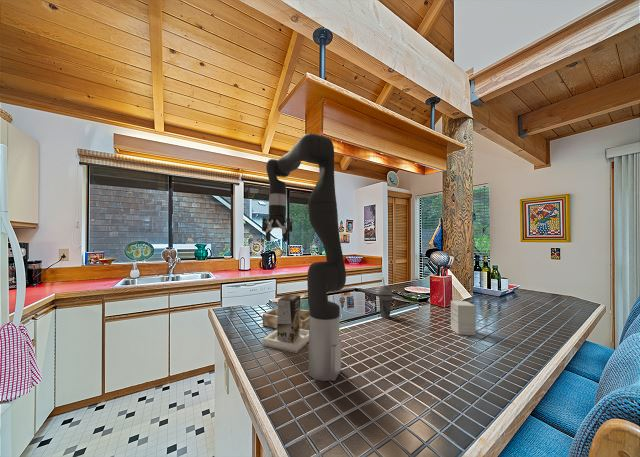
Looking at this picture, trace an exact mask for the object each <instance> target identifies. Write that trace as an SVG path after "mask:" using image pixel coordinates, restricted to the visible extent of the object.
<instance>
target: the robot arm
mask: <svg viewBox="0 0 640 457" xmlns="http://www.w3.org/2000/svg"><path fill="white" fill-rule="evenodd" d="M302 162H306V163H310V164H315V165H318V169H319V170H318V172H319V173H318V175H319V176H318V180H317V182H316V185H315V186H314V188H313V190H312V191H311V193H310V195H309V197H308V204H307V205H308V208H307V209H308V219H309V222H310V226H311V227H312V229H313V231H314V232H315V234H316V236H317V237H318V238H319V240H320V241H321V244H322V246H323V248H324V253H325V257H326V258H325V259H326V260H325V261H316V262H313V263H311V264H310V266H309V267H308V270H307V304H308V309H309V310H308V311H309V342H308V360H307V361H308V363H307V364H308V365H307V367H308V368H307V369H308V370H307V371H308V372H307V373H308V375H309V376H310V377H311V378H312V379H314V380H317V381H321V382H327V381H333V382H335V381H336V379H337V378H338V376H339V374H340V373H341V371H342V339H341V338H340V329H341V328H340V327H341V326H340V324H341V322H340V321H341V320H340V319H341V318H340V317H341V314H340V313H341V311H340V306H339V304H337V303H336V302H334V301H333V302H332V301H329V300H328V297H327V296H328V295H327V294H328V293H333V292H339V291H342V290H343V289H344V287H345V285H346V282H347V281H346V280H347V272H346V265H345V260H344V254H343V249H342V245H341V238H340V237H341V236H340V228H339V217H338V216H339V215H338V206H337V205H338V204H337V197H336V196H337V195H336V184H335V182H336V181H335V146H334V143H333V141H332V139H331V138H329V137H327V136H323V135H320V134H315V133H310V132H309V133H305V134H304V135H302V137H300V138H299V139H298V141H297V142H295V144H294V145H293V147H292V148H291V149H289V151H288V152H287V153H285V154H283V155H282V156H281V157H279V158H278V159H275V158H270V159H268V161H267V162H266V163H265V164H266V166H265V167H266V168H265V169H266V170H265V171H266V174H267V177H268V181H269V198H268V216H269V217H268V218H267V217H266V218H265V217H263V218H262V223H261V224H262V225H261V231H262V232H264V233H265V241H266V242H271V239H272V238H271V235H272V234H271V232H272V231H273V230H274V229H281V231H282V232H283V233H282V242H283V243H287V242H288V241H289V233H292V232H293V218H291V217H286V215H287V185H286V182H284V181H282V180H281V179H278V177H279V178H286V177H288V176H289V175H290V174H291V173H292V172H294V171H295V170H297V169H298V168H299V167H300V166H301V163H302ZM285 223H286V224H285Z"/></svg>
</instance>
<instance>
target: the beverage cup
mask: <svg viewBox="0 0 640 457" xmlns="http://www.w3.org/2000/svg"><path fill="white" fill-rule="evenodd" d="M382 284H383V286H381V287H380V288H379V289H378V293H377V294H378V298H379V302H378V303H379V313H380V317H381V318H383V319H390V318H391V317H390V316H391V310H392V309H391V307H392V299H393V290H392V289H391V288H390V287H389V286H387V285H385V278H384V277H382Z"/></svg>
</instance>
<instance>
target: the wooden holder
mask: <svg viewBox="0 0 640 457" xmlns="http://www.w3.org/2000/svg"><path fill="white" fill-rule="evenodd" d="M277 318H278V316H275V308H273V309H271V310H269V311H266V312H264V313H263V314H262V327H263V326H264V327H268V328H274V329H277ZM300 329H303V330H309V310H308V309H301V308H300Z"/></svg>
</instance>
